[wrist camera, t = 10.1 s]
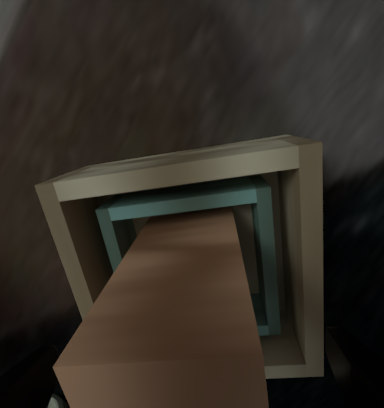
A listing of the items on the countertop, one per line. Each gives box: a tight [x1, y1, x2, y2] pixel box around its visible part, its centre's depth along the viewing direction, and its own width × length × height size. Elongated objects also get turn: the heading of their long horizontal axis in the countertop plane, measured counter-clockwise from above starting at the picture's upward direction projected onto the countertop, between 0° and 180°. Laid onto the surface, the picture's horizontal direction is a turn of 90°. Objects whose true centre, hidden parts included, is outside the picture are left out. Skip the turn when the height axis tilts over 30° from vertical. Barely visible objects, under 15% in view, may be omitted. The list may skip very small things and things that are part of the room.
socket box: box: [34, 135, 324, 379], centre depth 13 cm, size 11×11×4 cm
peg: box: [53, 206, 269, 408], centre depth 10 cm, size 4×4×9 cm
